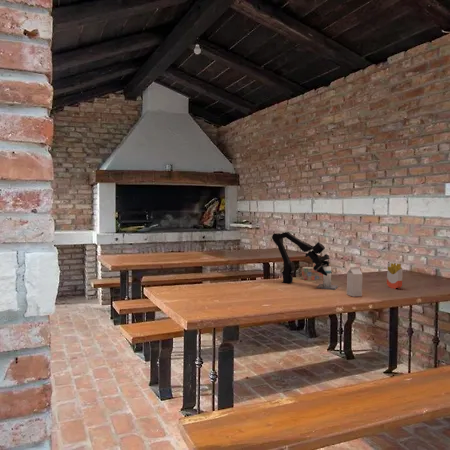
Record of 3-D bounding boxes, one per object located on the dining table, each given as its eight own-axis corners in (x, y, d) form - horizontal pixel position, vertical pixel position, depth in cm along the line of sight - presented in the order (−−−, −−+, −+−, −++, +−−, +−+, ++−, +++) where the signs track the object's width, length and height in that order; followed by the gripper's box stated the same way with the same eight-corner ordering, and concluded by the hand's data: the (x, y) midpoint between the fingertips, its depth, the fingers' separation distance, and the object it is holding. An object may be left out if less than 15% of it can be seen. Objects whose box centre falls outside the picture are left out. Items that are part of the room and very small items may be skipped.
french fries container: (396, 289, 301) (397, 264, 300) (386, 286, 311) (387, 262, 310) (401, 289, 302) (402, 264, 301) (391, 286, 313) (392, 262, 312)
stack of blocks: (303, 279, 335) (303, 264, 334) (301, 278, 341) (301, 263, 340) (330, 280, 336) (330, 264, 335) (327, 278, 342) (328, 263, 341)
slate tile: (316, 288, 303) (316, 286, 303) (319, 285, 313) (319, 283, 313) (335, 289, 298) (335, 288, 298) (337, 287, 308) (337, 285, 308)
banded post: (324, 286, 303) (324, 267, 302) (322, 285, 309) (322, 266, 308) (332, 286, 303) (332, 267, 302) (330, 285, 309) (330, 266, 308)
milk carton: (361, 296, 279) (362, 267, 278) (352, 296, 277) (353, 268, 276) (355, 293, 286) (356, 266, 285) (346, 294, 284) (347, 266, 283)
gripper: (317, 252, 299) (332, 269, 293) (327, 249, 314) (341, 265, 309) (307, 262, 303) (321, 279, 298) (316, 259, 319) (330, 275, 314)
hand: (329, 274), depth 304 cm, fingers open, 9 cm apart
